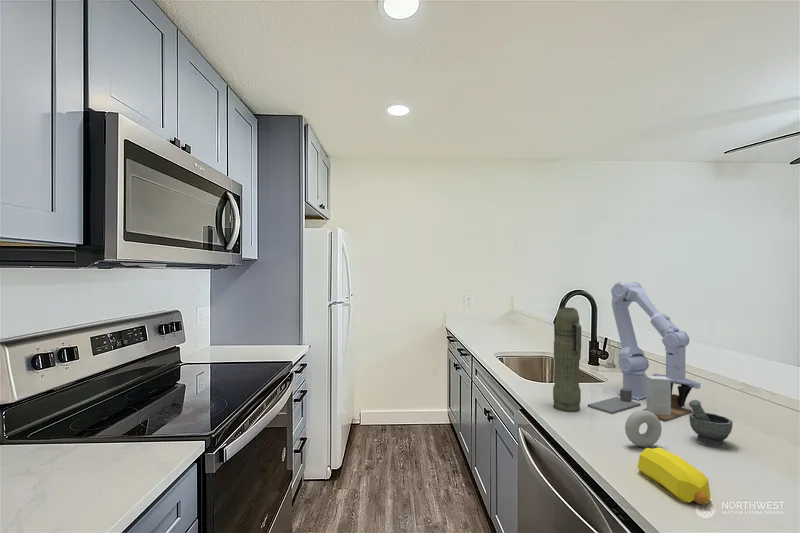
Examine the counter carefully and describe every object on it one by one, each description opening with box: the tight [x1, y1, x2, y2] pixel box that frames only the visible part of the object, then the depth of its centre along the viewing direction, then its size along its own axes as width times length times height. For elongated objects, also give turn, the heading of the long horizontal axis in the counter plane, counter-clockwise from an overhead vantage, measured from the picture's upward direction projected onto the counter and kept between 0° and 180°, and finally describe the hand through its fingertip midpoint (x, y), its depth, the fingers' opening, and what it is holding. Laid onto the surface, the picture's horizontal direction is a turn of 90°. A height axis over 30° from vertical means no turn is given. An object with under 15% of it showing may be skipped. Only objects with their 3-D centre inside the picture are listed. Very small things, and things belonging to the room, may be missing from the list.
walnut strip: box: [642, 393, 693, 422], centre depth 142 cm, size 18×9×5 cm, turn 122°
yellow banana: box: [637, 447, 711, 505], centre depth 93 cm, size 18×7×8 cm
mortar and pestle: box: [688, 399, 733, 448], centre depth 117 cm, size 11×9×12 cm
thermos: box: [552, 307, 582, 413], centre depth 146 cm, size 9×12×35 cm
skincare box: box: [646, 375, 671, 416], centre depth 139 cm, size 6×4×12 cm
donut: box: [624, 409, 663, 448], centre depth 114 cm, size 10×4×10 cm, turn 96°
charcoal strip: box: [587, 388, 642, 415], centre depth 149 cm, size 18×9×5 cm, turn 122°
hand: (675, 404), depth 146 cm, fingers open, 3 cm apart
